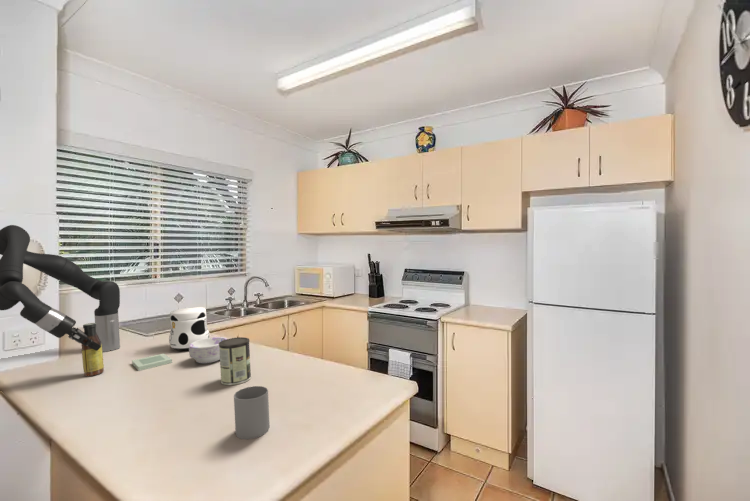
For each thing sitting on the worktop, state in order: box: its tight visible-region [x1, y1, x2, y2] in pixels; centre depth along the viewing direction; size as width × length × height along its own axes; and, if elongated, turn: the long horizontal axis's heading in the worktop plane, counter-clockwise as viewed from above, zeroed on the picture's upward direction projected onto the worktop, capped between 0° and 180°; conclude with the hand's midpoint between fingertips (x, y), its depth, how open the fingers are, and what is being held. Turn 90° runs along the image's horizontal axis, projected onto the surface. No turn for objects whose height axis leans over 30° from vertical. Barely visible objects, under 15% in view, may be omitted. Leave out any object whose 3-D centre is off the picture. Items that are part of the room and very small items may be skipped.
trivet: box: [131, 353, 173, 372], centre depth 150 cm, size 12×12×2 cm
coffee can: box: [219, 337, 252, 386], centre depth 129 cm, size 10×10×14 cm
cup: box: [233, 385, 271, 440], centre depth 93 cm, size 8×8×10 cm
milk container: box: [168, 306, 210, 351], centre depth 173 cm, size 17×17×18 cm
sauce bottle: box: [81, 322, 105, 377], centre depth 139 cm, size 6×6×20 cm
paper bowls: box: [188, 336, 228, 364], centre depth 152 cm, size 15×15×8 cm
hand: (97, 346), depth 141 cm, fingers closed on sauce bottle, 6 cm apart
